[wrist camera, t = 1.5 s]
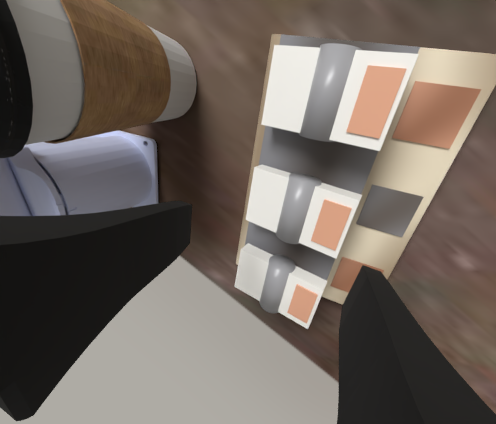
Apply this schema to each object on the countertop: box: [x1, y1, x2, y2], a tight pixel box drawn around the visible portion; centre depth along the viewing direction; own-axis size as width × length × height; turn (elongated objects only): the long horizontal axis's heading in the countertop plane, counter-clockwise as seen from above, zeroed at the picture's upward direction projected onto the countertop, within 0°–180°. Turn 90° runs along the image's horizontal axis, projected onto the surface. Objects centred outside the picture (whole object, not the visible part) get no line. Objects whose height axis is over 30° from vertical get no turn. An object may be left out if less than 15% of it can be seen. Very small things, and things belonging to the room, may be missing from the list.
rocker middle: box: [246, 165, 362, 259], centre depth 14 cm, size 6×4×2 cm, turn 80°
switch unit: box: [236, 34, 496, 305], centre depth 16 cm, size 12×18×4 cm, turn 170°
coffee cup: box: [0, 0, 197, 158], centre depth 13 cm, size 8×8×15 cm
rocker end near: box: [261, 43, 419, 151], centre depth 11 cm, size 6×4×2 cm, turn 80°
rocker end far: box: [235, 243, 327, 329], centre depth 16 cm, size 6×4×2 cm, turn 80°
